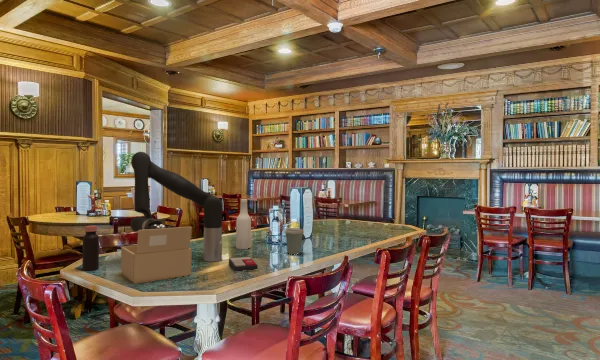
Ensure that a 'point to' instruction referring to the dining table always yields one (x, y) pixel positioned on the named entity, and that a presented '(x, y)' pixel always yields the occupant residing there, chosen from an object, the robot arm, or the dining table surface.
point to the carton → (155, 264)
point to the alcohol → (243, 227)
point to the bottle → (90, 249)
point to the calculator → (242, 264)
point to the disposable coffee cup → (293, 240)
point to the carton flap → (163, 239)
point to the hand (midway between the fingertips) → (165, 231)
